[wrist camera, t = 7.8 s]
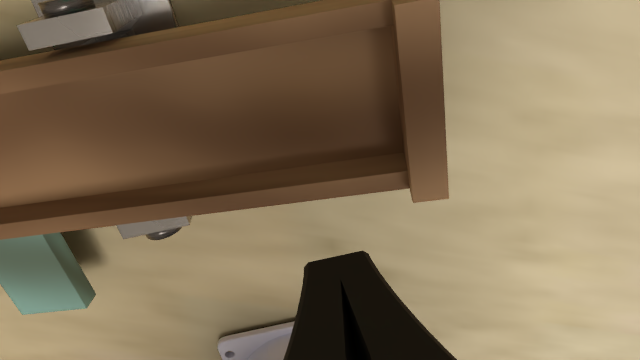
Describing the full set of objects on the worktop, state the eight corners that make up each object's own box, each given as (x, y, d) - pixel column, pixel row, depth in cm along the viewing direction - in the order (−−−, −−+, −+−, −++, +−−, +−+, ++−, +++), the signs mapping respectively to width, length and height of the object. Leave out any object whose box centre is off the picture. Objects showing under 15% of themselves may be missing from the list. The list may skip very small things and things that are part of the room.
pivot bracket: (229, 182, 19) (221, 232, 16) (130, 203, 19) (102, 258, 16) (159, -33, 15) (130, -24, 12) (32, -7, 15) (-33, 10, 12)
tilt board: (439, 258, 17) (454, 313, 15) (-17, 306, 20) (-67, 359, 18) (421, -19, 12) (438, -3, 10) (-179, 93, 15) (-278, 127, 13)
